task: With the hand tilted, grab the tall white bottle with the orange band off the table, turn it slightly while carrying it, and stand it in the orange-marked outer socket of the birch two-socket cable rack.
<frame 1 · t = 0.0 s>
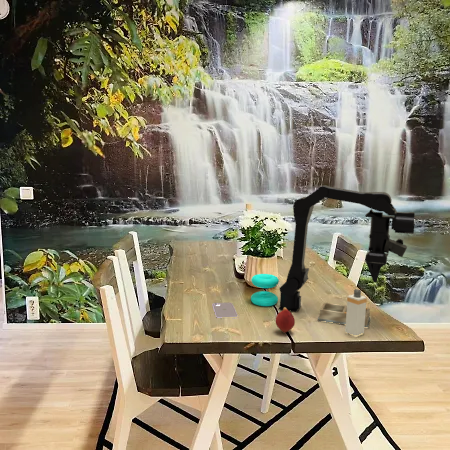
hand: (376, 278, 149), 15 cm above the table, tool pointing down, fingers open, 9 cm apart
bottle: (354, 333, 140), on the table
onion: (284, 333, 141), on the table
donuts: (264, 303, 168), on the table
rack: (344, 320, 152), on the table
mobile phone: (224, 312, 159), on the table
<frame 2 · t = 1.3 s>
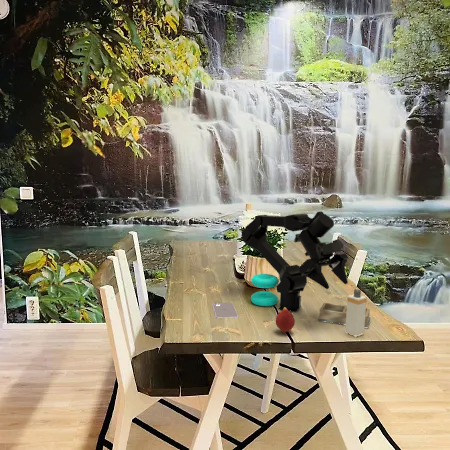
hand: (337, 286, 144), 13 cm above the table, tool tilted 45°, fingers open, 9 cm apart
nothing on the table moved.
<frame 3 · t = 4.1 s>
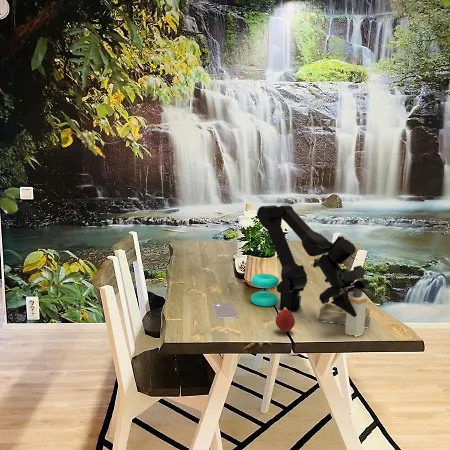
hand: (359, 314, 138), 7 cm above the table, tool tilted 45°, fingers closed on bottle, 4 cm apart
bottle: (354, 333, 140), on the table, touching gripper
everything else where it was.
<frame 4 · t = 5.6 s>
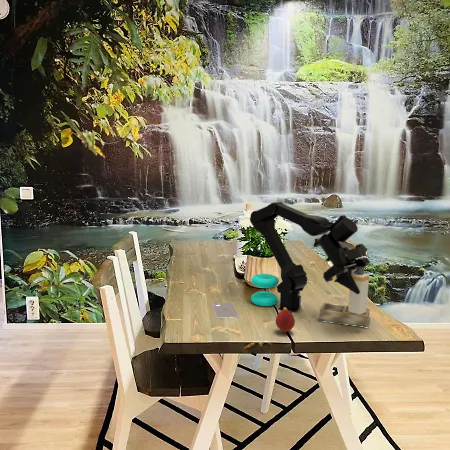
hand: (362, 292, 140), 13 cm above the table, tool tilted 45°, fingers closed on bottle, 4 cm apart
bottle: (357, 311, 142), point 6 cm above the table, touching gripper
everything else where it was.
when the fingers open (9 cm above the table, at t = 7.5 s): bottle drops 1 cm, resting on rack.
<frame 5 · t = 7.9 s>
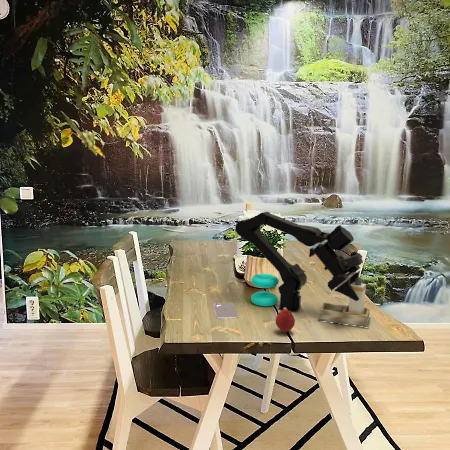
hand: (361, 296, 148), 9 cm above the table, tool tilted 45°, fingers open, 8 cm apart
bottle: (355, 319, 150), point 1 cm above the table, touching rack
everything else where it was.
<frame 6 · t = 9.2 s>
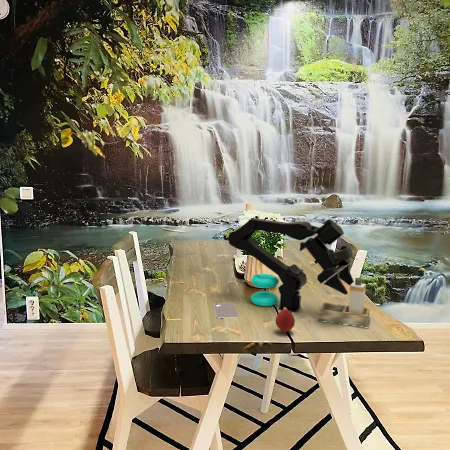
hand: (350, 290, 150), 10 cm above the table, tool tilted 45°, fingers open, 9 cm apart
nothing on the table moved.
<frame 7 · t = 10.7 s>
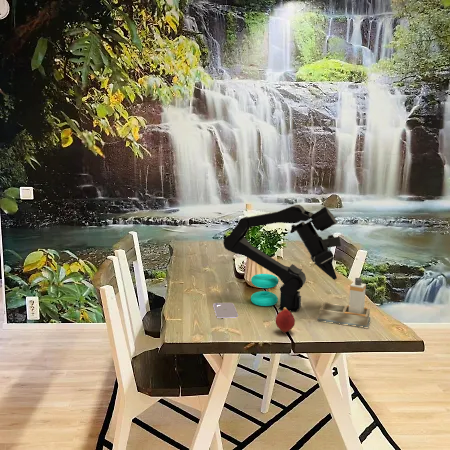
hand: (333, 277, 155), 13 cm above the table, tool tilted 35°, fingers open, 9 cm apart
nothing on the table moved.
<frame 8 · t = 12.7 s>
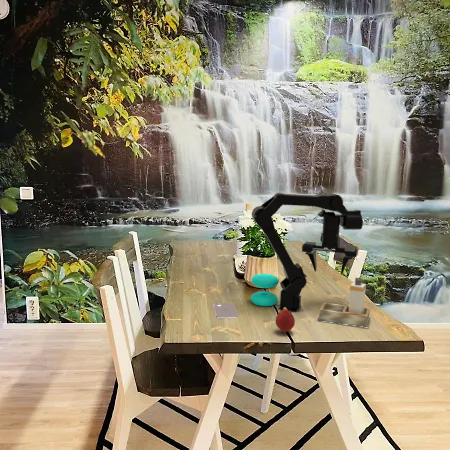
hand: (328, 272, 161), 13 cm above the table, tool pointing down, fingers open, 9 cm apart
nothing on the table moved.
at the end: bottle 0.1 cm from the target spot on the rack, point 0.8 cm above the rack's base; bottle tilted 0°; the gripper is holding nothing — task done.
